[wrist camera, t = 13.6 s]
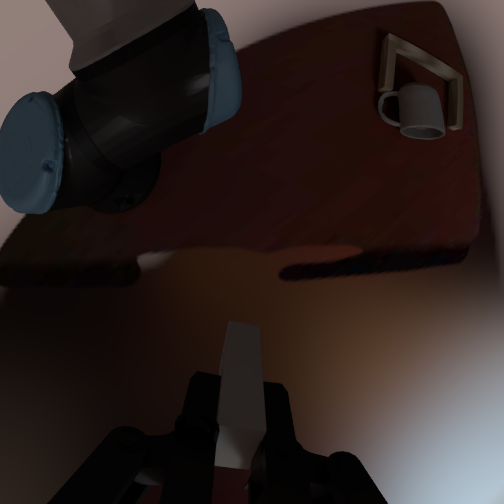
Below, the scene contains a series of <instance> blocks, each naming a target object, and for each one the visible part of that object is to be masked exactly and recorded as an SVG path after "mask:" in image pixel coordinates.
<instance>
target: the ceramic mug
mask: <svg viewBox="0 0 504 504" xmlns="http://www.w3.org/2000/svg"><path fill="white" fill-rule="evenodd" d="M390 96H398V101H399V121H400V122H395V121H393V120H391V119H389V118H387V117H386V116H385V115H384V114H383V113H382V105H383V103H384V98H386V97H390ZM378 112H379V115H380V117H381V118H382V119H383V120H384V121H385V122H387V123H389V124H391V125H394V126H397V127H400V132H401V133H402V134H403V135H405V136H408V137H411V138H416V139H437V138H440V137H443V136H444V135H445V127H444V121H443V114H442V109H441V103H440V99H439V96H438V93H437V91H436V90H435V89H434V88H433V87H432V86H430V85H428V84H425V83H418V82H414V83H408V84H405V85H403V86H402V87H401V88H400V89H399V92H397V91H389V92H386V93H384V94H383V95H382V96H381V97H380V98H379V101H378Z"/></svg>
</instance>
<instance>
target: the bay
mask: <svg viewBox="0 0 504 504" xmlns="http://www.w3.org/2000/svg"><path fill="white" fill-rule="evenodd" d="M396 52H397V53H399V54H401V55H403V56H405V57H407V58H408V59H410V60H412V61H414V62H416V63H418V64H420V65H421V66H423V67H425V68H427V69H428V70H430V71H432V72H434V73H435V74H437V75H438V76H440V77H442V78H443V79H445V80H446V81H448V82H449V102H448V121H447V127H448V128H449V129H451V130H457V129H461V128H462V123H463V76H462V75H461V74H459V73H458V72H456V71H455V70H453V69H452V68H450V67H449V66H447V65H446V64H444V63H443V62H441V61H440V60H438V59H436V58H435V57H433V56H431V55H430V54H428V53H426V52H425V51H423V50H421V49H419V48H417V47H416V46H414V45H412V44H410V43H408V42H406V41H404V40H402V39H400V38H398V37H396V36H394V35H392V34H390V33H389V34H388V35H387V36H386V37H385V38H384V39H383V40H382V52H381V63H380V72H379V81H378V89H377V92H380V93H382V94H384V93H386V92H389V91H391V90H393V84H394V73H395V60H396Z"/></svg>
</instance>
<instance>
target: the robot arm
mask: <svg viewBox="0 0 504 504" xmlns="http://www.w3.org/2000/svg"><path fill="white" fill-rule="evenodd" d="M45 1H46V2H47V4H48V5H49V6H50V8H51V9H52V11H53V12H54V14H55V15H56V17H57V18H58V20H59V21H60V23H61V24H62V26H63V27H64V28H65V30H66V31H67V33H68V34H69V36H70V37H71V38H72V40H73V45H74V47H73V51H72V55H71V59H70V63H69V68H70V70H71V71H72V73H73V74H74V75H75V77H76V78H75V79H74V80H73V81H71V82H70V83H68V84H67V85H66V86H64V87H63V88H62V89H61V90H59V91H58V92H57V93H55V94H54V95H51V94H50V93H48V92H45V91H42V92H38V93H37V92H32V93H29V94H27V95H25V96H23V97H22V98H21V99H19V100H18V101H17V102H16V103H15V105H14V106H13V107H12V108H11V110H10V111H9V113H8V114H7V116H6V118H5V120H4V122H3V124H2V127H1V129H0V195H1V197H2V198H3V200H4V201H5V203H6V204H7V205H8V206H9V207H11V208H12V209H13V210H14V211H16V212H19V213H34V214H42V213H44V212H47V211H53V210H59V209H65V208H72V207H79V206H88V207H90V208H92V209H93V210H95V211H98V212H101V213H106V214H116V213H121V212H126V211H129V210H131V209H133V208H135V207H137V206H138V205H139V204H141V203H142V202H143V201H144V200H145V199H146V198H147V197H148V196H149V194H150V193H151V191H152V190H153V188H154V186H155V184H156V182H157V179H158V176H159V173H160V166H161V154H160V152H161V151H162V150H164V149H166V148H168V147H170V146H172V145H174V144H176V143H178V142H180V141H183V140H185V139H187V138H189V137H191V136H193V135H195V134H197V133H198V134H203V133H205V132H206V131H207V130H208V128H210V127H213V126H215V125H217V124H219V123H221V122H223V121H225V120H227V119H229V118H231V117H232V116H234V115H235V113H236V112H237V110H238V109H239V107H240V105H241V100H242V84H241V76H240V70H239V65H238V60H237V56H236V52H235V49H234V46H233V43H232V42H231V41H230V40H229V39H230V37H229V33H228V29H227V26H226V24H225V22H224V20H223V18H222V17H221V15H220V14H219V13H218V12H217V11H216V10H214V9H212V8H210V9H206V8H203V9H200V10H198V7H197V5H196V3H195V0H45ZM290 409H291V408H290V403H289V397H288V392H287V390H286V389H285V388H284V386H283V385H282V384H280V383H272V382H263V374H262V361H261V347H260V333H259V326H255V325H250V324H244V323H238V322H233V321H229V323H228V329H227V333H226V338H225V343H224V348H223V352H222V357H221V362H220V370H219V375H214V374H209V373H203V372H198V371H197V372H196V373H195V374H194V375H193V376H192V377H191V378H190V382H189V385H188V390H187V393H186V397H185V401H184V406H183V410H182V414H181V415H180V416H178V418H177V419H176V421H175V430H174V431H172V432H171V433H169V434H166V435H159V436H146V435H145V434H144V433H143V432H142V431H140V430H139V429H137V428H134V427H130V426H122V427H118V428H115V429H114V430H112V431H111V432H110V433H109V434H108V435H107V436H106V438H105V439H104V440H103V441H102V442H101V443H100V444H99V446H98V447H97V448H96V449H95V450H94V451H93V452H92V454H91V455H90V456H89V457H88V458H87V459H86V460H85V462H84V463H83V464H82V465H81V466H80V468H79V469H78V470H77V471H76V472H75V473H74V474H73V475H72V476H71V477H70V479H69V480H68V481H67V482H66V483H65V484H64V485H63V487H62V488H61V489H60V490H59V491H58V492H57V493H56V495H54V497H53V498H52V499H51V500H50V501H49V502H48V503H47V504H139V503H140V501H141V500H142V498H143V497H144V495H145V494H146V492H147V490H148V489H149V487H150V486H151V485H163V489H162V494H161V499H160V503H159V504H211V501H212V488H213V477H214V466H215V465H216V466H222V467H230V468H239V469H249V467H250V465H251V475H250V477H249V479H248V481H247V483H246V484H245V488H244V489H248V504H388V503H387V501H386V500H385V498H384V497H383V495H382V494H381V492H380V491H379V489H378V488H377V486H376V485H375V483H374V482H373V480H372V479H371V477H370V476H369V474H368V472H367V471H366V469H365V468H364V466H363V465H362V463H361V462H360V460H359V459H358V458H357V457H356V456H355V455H353V454H351V453H349V452H344V451H340V452H335V453H333V454H331V455H330V456H329V457H326V456H322V455H317V454H314V453H311V452H308V451H306V450H305V449H303V447H302V446H301V444H299V443H298V442H297V440H296V437H295V432H294V426H293V420H292V414H291V411H290Z"/></svg>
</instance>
